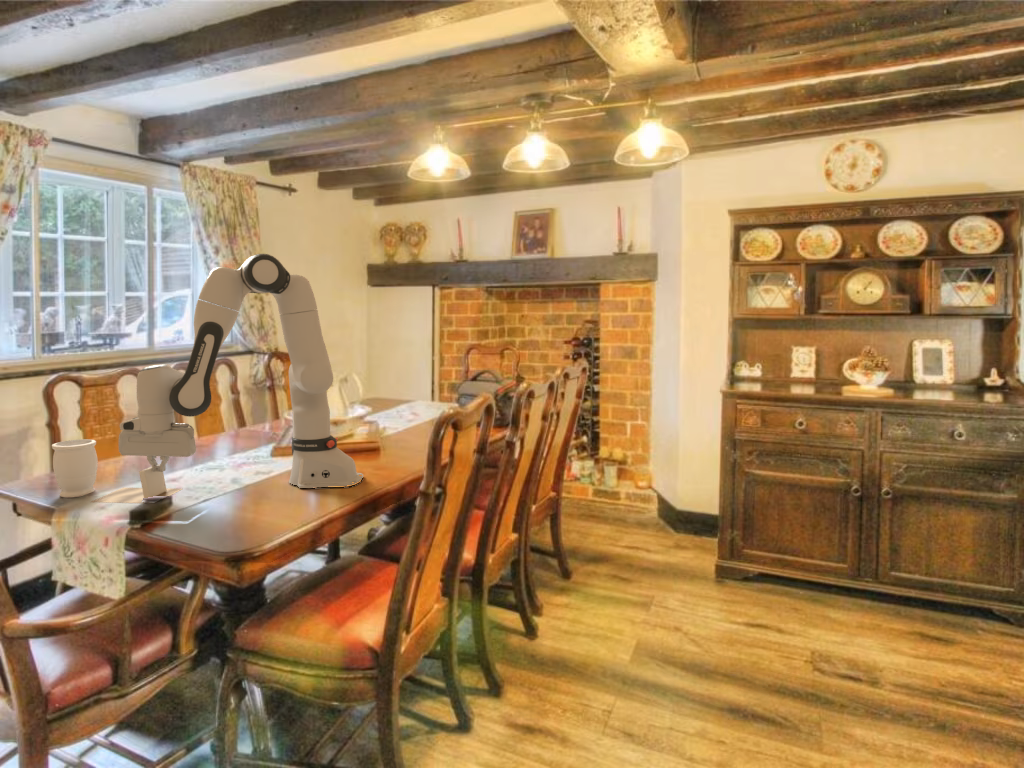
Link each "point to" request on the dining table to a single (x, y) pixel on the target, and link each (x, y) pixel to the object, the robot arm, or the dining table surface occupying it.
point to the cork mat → (130, 495)
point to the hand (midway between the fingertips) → (158, 471)
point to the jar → (75, 467)
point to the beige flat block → (152, 482)
